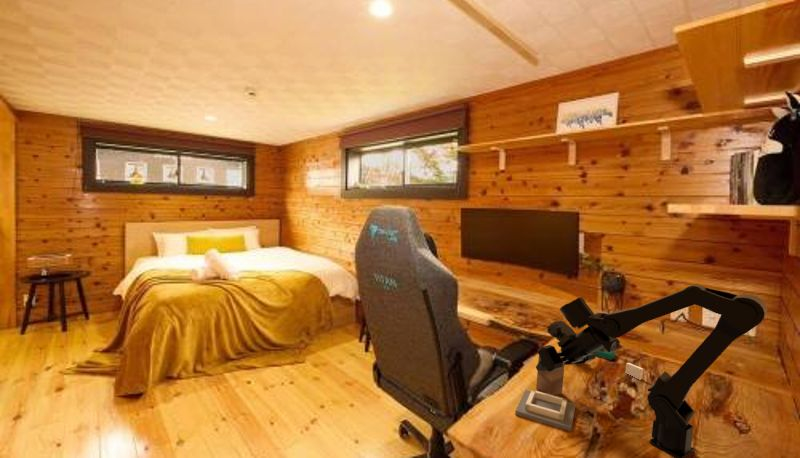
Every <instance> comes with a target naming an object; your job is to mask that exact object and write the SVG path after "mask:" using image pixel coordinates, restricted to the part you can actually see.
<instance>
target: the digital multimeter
mask: <svg viewBox="0 0 800 458" xmlns="http://www.w3.org/2000/svg"><path fill="white" fill-rule="evenodd" d="M615 350H616V349H614V350H613V351H611V352H608V351H607V350H606V349H605V348H604V346H603V347H602V348H600V349H598V350H596V351H595V354H596V356H595V357H599V358H602V359H604V360H605V359H606V360H610V361H612V360H614V359H615V355H616V351H615Z"/></svg>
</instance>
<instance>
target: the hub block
mask: <svg viewBox="0 0 800 458" xmlns="http://www.w3.org/2000/svg"><path fill="white" fill-rule="evenodd" d="M540 359H541V358H540V356H539V355H538V360H537V361H538V362H539V361H540ZM538 362H537V363H538ZM565 366H566V365H565V362H563V367H562V368H560V369H558V370H555V371H551V372H549V371H537V374H536V385H535V386H536V387H535V389H536V391H537V390H538V391H539V392H542V393H546V394H550V395H553V396H558V395H561V394H563V386H564V377H565V376H564V374H565Z"/></svg>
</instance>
